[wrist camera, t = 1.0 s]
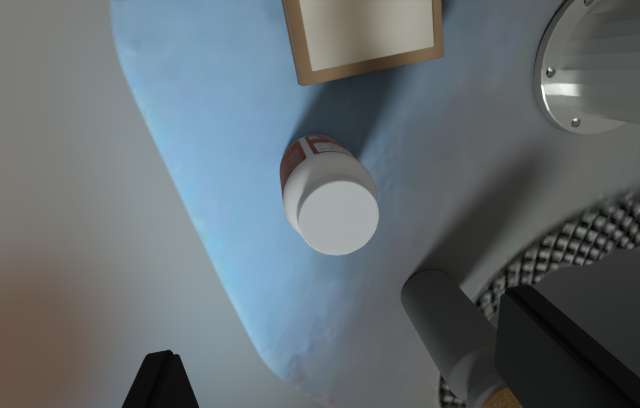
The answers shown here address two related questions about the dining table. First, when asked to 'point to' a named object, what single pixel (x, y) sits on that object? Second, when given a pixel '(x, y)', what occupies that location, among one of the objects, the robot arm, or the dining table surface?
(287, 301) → the dining table surface
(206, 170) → the dining table surface
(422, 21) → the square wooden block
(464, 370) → the bottle
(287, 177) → the pill bottle
